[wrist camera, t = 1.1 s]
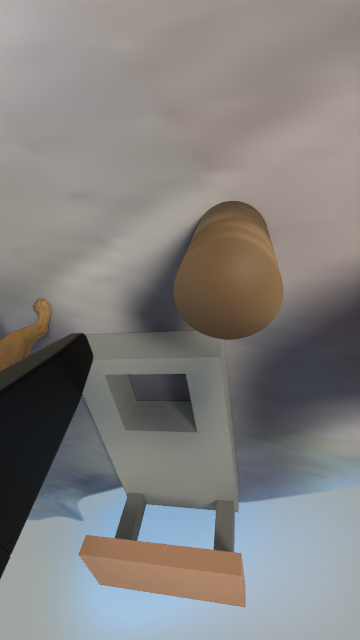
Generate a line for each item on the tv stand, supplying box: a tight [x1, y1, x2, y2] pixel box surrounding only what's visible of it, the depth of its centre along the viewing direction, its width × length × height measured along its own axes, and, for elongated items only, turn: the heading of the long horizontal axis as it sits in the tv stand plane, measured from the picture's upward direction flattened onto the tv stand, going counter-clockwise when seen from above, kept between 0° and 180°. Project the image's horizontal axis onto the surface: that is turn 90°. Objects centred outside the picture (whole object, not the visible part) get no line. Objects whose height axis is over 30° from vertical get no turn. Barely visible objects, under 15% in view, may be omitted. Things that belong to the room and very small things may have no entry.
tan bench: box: [79, 493, 245, 607], centre depth 25 cm, size 11×5×9 cm, turn 99°
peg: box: [173, 201, 283, 340], centre depth 14 cm, size 4×4×7 cm
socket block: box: [82, 330, 239, 512], centre depth 24 cm, size 10×17×3 cm, turn 9°
